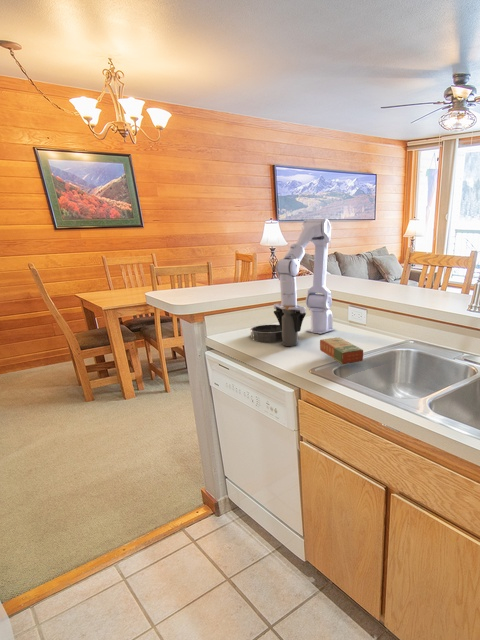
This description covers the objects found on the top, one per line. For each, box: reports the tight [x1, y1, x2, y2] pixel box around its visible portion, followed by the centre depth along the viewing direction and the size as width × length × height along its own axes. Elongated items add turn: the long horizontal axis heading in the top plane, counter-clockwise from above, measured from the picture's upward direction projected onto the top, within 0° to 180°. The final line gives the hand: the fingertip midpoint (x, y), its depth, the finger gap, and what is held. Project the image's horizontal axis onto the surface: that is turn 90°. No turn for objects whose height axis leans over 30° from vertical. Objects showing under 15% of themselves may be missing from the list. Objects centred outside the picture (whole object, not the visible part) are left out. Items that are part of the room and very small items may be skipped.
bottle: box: [282, 305, 299, 347], centre depth 154 cm, size 6×6×15 cm
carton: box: [319, 336, 364, 365], centre depth 140 cm, size 8×16×4 cm, turn 30°
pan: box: [250, 324, 283, 344], centre depth 165 cm, size 15×15×4 cm
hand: (290, 330), depth 156 cm, fingers open, 7 cm apart
